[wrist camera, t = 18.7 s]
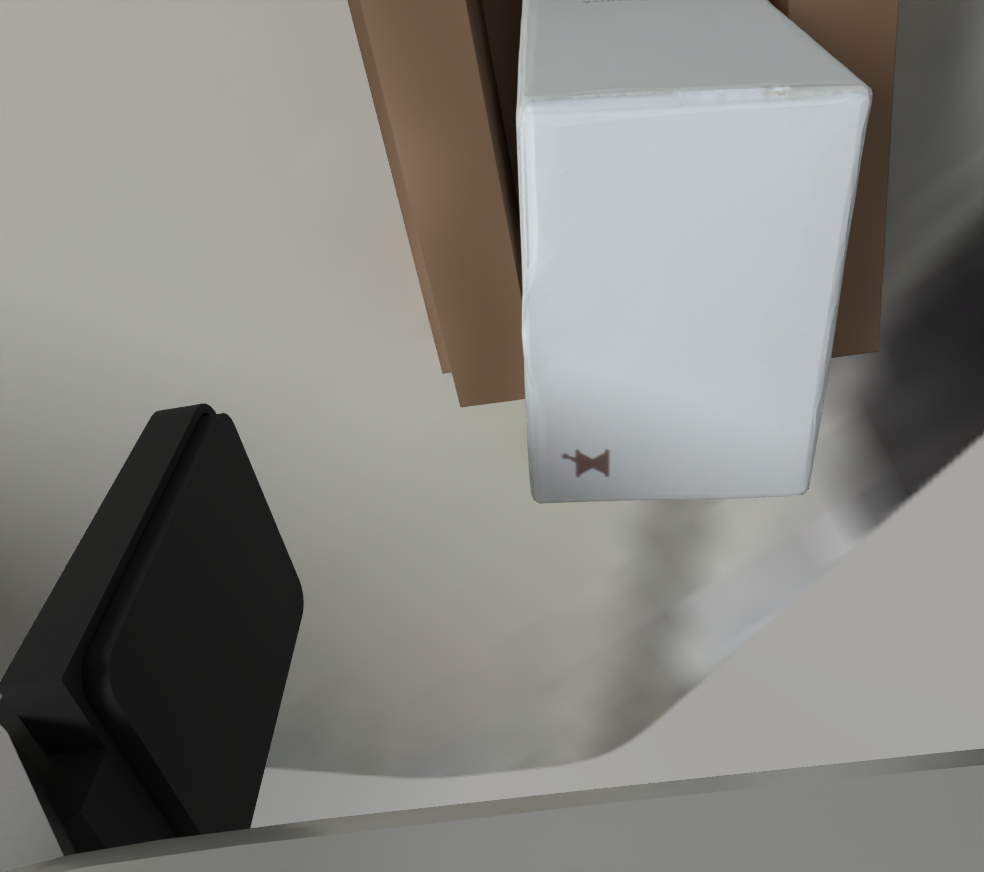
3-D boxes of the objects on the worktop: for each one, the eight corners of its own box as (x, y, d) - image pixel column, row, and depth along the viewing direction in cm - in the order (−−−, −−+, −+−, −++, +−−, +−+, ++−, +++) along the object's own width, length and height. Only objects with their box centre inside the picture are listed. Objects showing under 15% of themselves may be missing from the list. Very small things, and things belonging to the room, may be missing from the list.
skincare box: (699, 208, 23) (811, 511, 14) (530, 214, 24) (521, 515, 14) (719, -63, 20) (889, 83, 10) (521, -51, 20) (500, 102, 10)
